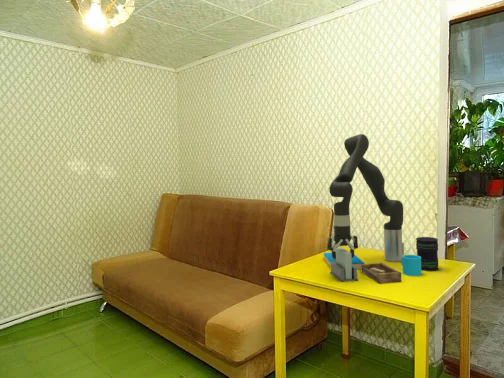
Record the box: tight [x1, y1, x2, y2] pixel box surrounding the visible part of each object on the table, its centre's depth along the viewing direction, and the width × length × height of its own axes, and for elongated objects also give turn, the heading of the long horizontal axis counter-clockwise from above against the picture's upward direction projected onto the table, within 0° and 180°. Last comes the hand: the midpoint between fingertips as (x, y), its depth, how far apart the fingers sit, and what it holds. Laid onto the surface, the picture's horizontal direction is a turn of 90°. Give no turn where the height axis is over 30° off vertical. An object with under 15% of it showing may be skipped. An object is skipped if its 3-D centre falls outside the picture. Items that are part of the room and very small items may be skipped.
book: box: [323, 252, 365, 271], centre depth 192 cm, size 17×4×25 cm
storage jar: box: [415, 236, 439, 272], centre depth 176 cm, size 10×10×15 cm
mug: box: [400, 254, 422, 277], centre depth 171 cm, size 12×8×8 cm
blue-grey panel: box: [335, 247, 352, 279], centre depth 168 cm, size 3×12×12 cm, turn 7°
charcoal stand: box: [329, 261, 359, 283], centre depth 168 cm, size 8×14×6 cm, turn 7°
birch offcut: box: [370, 268, 385, 274], centre depth 166 cm, size 2×7×2 cm, turn 26°
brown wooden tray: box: [361, 262, 402, 284], centre depth 166 cm, size 10×18×4 cm, turn 7°
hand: (343, 258), depth 168 cm, fingers open, 8 cm apart
